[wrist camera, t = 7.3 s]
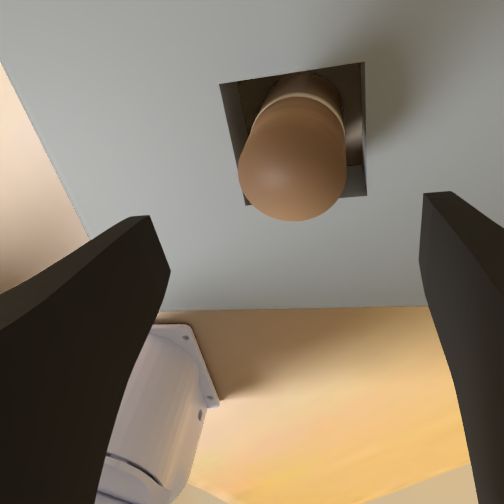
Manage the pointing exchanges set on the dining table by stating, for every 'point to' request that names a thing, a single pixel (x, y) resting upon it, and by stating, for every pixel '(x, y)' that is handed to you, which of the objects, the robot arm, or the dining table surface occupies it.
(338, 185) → the peg
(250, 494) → the dining table surface
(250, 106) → the dining table surface
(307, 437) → the dining table surface
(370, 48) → the board
